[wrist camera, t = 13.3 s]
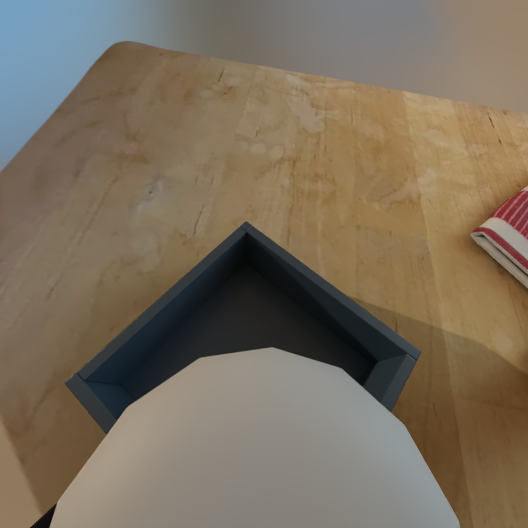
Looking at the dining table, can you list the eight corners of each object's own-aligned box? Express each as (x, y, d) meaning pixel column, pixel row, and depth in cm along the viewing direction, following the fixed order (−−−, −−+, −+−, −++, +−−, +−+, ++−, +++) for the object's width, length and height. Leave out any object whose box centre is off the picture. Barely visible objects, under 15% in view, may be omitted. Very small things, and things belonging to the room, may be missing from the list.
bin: (264, 560, 13) (276, 641, 9) (112, 387, 16) (63, 383, 12) (377, 363, 18) (422, 351, 14) (244, 258, 21) (245, 220, 16)
